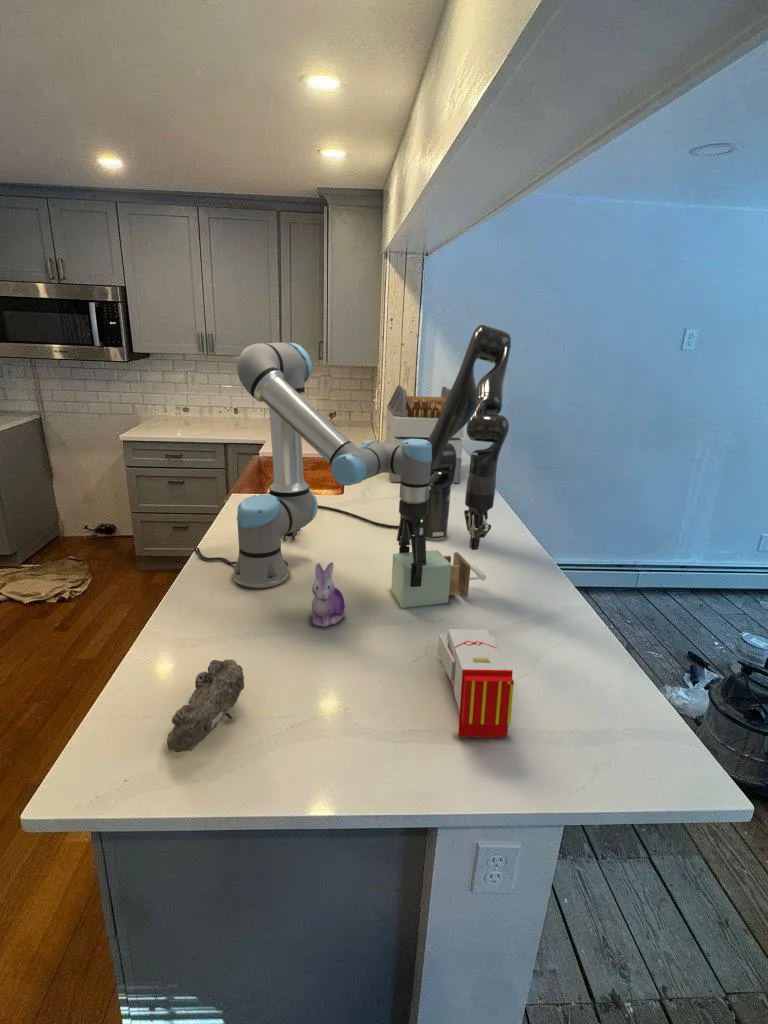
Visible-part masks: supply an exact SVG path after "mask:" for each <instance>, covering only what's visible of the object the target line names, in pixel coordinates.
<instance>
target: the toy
mask: <svg viewBox="0 0 768 1024" xmlns="http://www.w3.org/2000/svg"><path fill="white" fill-rule="evenodd" d="M446 640H447V643H446V641H445V639H444V636H443V635H442V634H439V637H438V646H437V656H438V657H439V659H440V661H441V663H442V666H443V668H444V670H445V672H446V674H447V677H448V679H449V681H450V684H451V687H452V690H453V693H454V697H455V701H456V705H457V708H458V711H459V714H458V715H459V716H458V730H457V731H458V732H457V737H458V738H508V731H509V726H510V725H511V717H512V707H513V697H514V696H513V695H514V684H515V680H514V679H513V673H514V671H513V670H512V669H508V667H507V665H506V662H505V661H504V659H503V658H502V655H501V653H500V651H499V649H498V647H497V643H496V639H495V637H494V635H493V634H491V632H490V631H489V629H467V628H466V629H465V628H463V629H461V628H460V629H459V628H448V630H447V639H446Z"/></svg>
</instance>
